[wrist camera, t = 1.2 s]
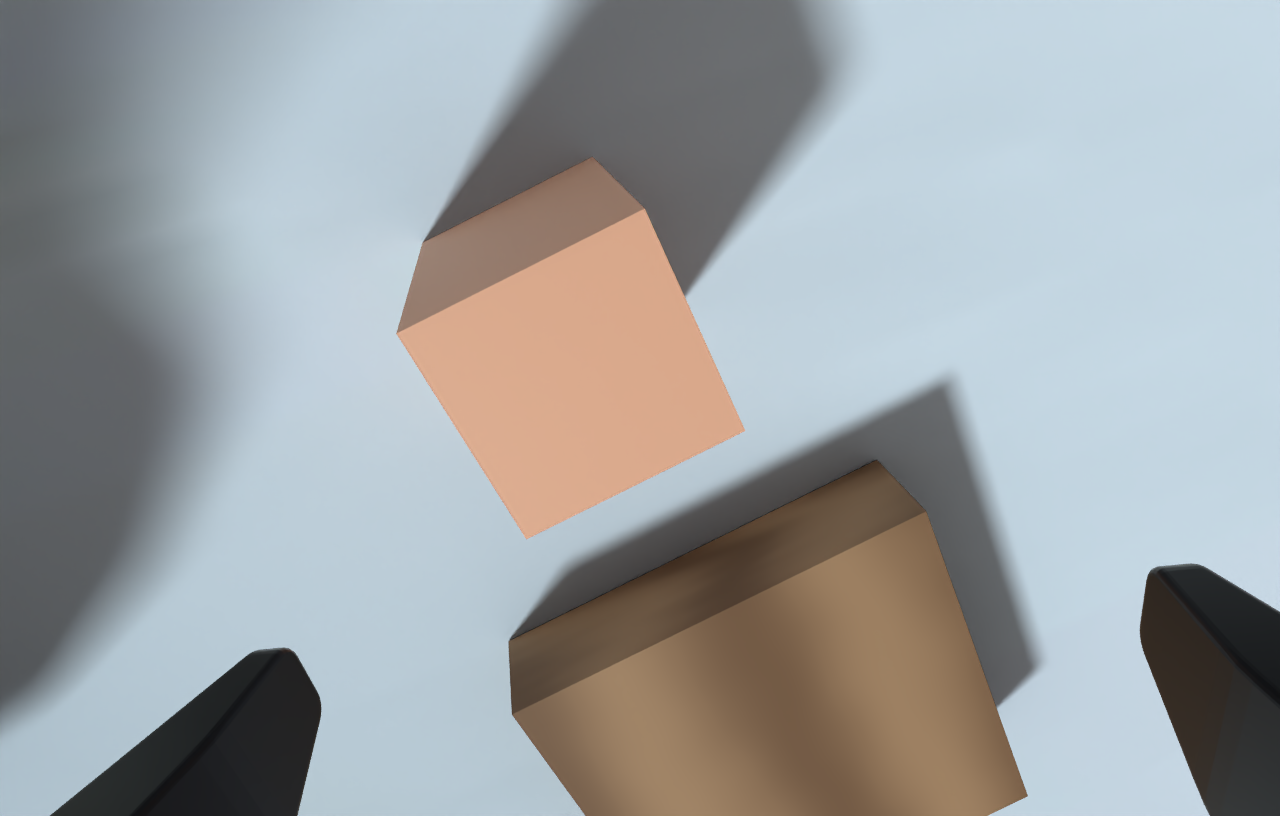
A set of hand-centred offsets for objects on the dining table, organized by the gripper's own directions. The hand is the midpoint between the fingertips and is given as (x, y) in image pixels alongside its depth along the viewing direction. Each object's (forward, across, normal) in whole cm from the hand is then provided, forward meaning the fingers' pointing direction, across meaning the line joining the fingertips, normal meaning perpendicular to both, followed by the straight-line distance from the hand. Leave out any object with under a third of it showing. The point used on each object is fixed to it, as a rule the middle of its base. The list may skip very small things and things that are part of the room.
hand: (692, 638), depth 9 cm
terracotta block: (+13, +4, +1) cm, 14 cm away
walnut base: (+12, 0, +15) cm, 20 cm away
